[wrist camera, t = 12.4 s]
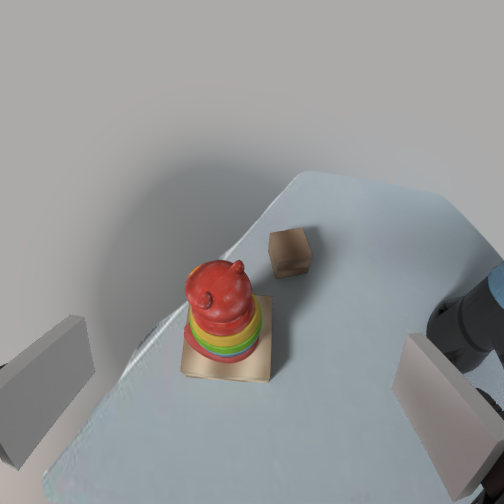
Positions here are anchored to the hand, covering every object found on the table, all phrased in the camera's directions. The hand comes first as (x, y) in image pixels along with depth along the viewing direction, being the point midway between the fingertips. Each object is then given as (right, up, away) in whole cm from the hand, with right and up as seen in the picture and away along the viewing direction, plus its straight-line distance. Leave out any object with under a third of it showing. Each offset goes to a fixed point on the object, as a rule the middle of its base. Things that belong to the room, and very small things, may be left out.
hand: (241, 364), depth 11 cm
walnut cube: (+7, +2, +47) cm, 47 cm away
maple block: (-3, -11, +38) cm, 40 cm away
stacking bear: (-3, -8, +34) cm, 35 cm away
